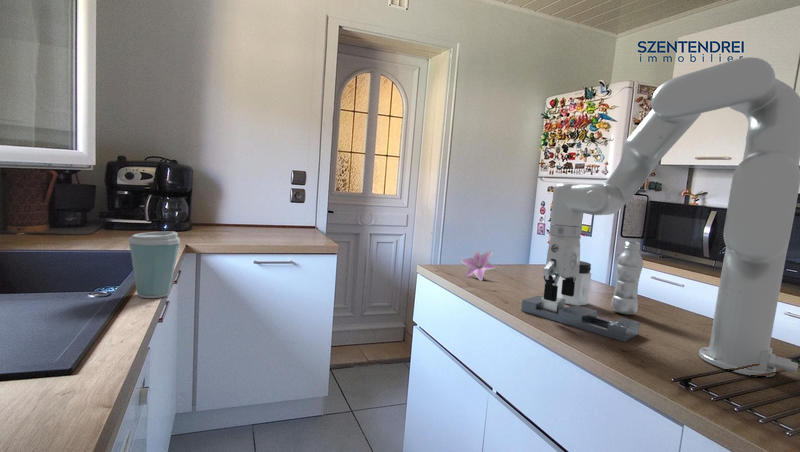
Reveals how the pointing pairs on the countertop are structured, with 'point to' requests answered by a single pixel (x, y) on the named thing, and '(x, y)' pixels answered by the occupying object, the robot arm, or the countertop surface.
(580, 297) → the jar
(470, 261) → the lily
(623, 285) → the plastic bottle
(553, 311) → the nut
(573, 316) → the rail
